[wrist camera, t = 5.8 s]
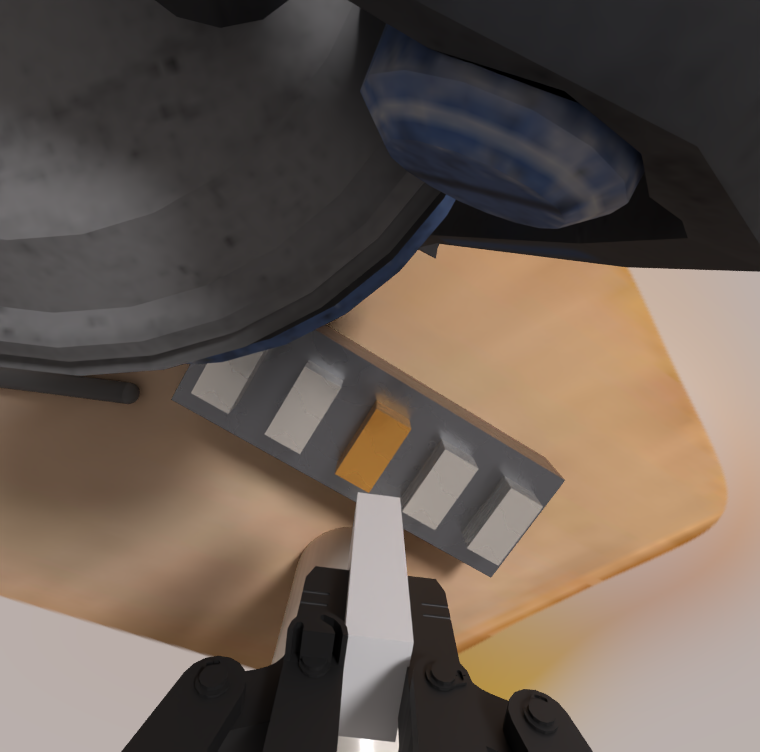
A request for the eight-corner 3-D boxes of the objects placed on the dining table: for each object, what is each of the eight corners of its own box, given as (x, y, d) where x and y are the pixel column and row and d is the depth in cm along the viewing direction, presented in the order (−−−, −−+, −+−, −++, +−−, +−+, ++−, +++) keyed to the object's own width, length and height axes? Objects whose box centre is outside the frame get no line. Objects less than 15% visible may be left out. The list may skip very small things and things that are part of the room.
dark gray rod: (-55, 376, 27) (-74, 380, 26) (-56, 355, 27) (-76, 359, 26) (143, 401, 28) (133, 407, 26) (143, 381, 27) (133, 387, 26)
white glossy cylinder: (291, 616, 31) (224, 892, 17) (302, 520, 29) (237, 742, 16) (397, 628, 31) (413, 909, 18) (413, 534, 30) (444, 763, 16)
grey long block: (196, 383, 28) (158, 408, 23) (253, 279, 26) (225, 282, 22) (478, 542, 30) (497, 595, 25) (542, 454, 29) (576, 493, 24)
